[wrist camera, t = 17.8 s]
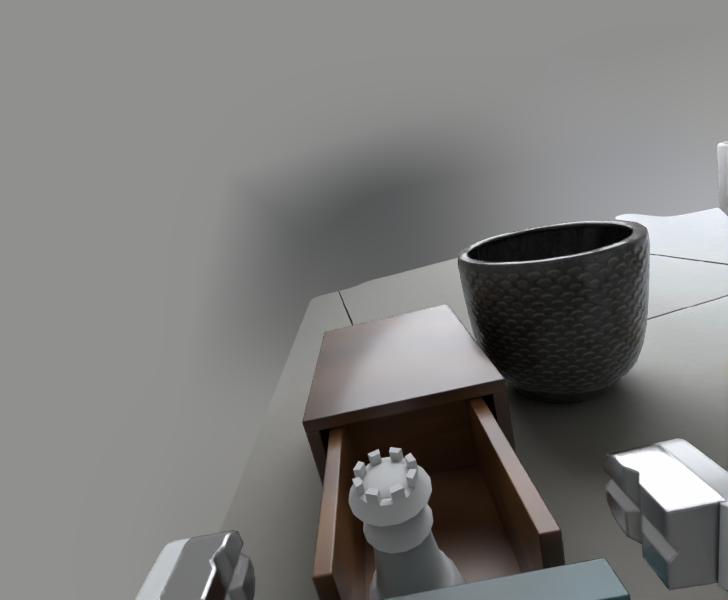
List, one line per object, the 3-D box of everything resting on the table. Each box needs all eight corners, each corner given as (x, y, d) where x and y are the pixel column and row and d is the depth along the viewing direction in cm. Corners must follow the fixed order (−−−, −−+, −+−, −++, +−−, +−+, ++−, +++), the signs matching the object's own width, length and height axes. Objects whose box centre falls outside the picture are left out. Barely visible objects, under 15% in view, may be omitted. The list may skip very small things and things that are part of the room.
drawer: (771, 1007, 9) (792, 836, 7) (321, 1063, 9) (229, 918, 7) (498, 465, 26) (482, 375, 24) (346, 495, 26) (320, 410, 24)
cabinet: (523, 502, 24) (505, 378, 21) (339, 539, 24) (301, 421, 22) (462, 386, 38) (447, 303, 35) (346, 410, 38) (324, 331, 36)
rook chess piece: (383, 700, 14) (329, 536, 12) (366, 586, 19) (324, 449, 17) (495, 662, 15) (462, 495, 13) (454, 558, 19) (423, 420, 17)
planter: (576, 453, 26) (559, 272, 23) (448, 383, 39) (424, 259, 35) (692, 374, 31) (692, 215, 28) (546, 334, 44) (533, 221, 40)
